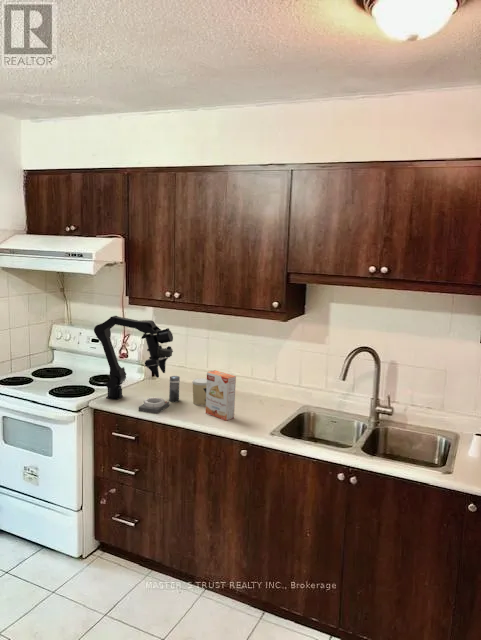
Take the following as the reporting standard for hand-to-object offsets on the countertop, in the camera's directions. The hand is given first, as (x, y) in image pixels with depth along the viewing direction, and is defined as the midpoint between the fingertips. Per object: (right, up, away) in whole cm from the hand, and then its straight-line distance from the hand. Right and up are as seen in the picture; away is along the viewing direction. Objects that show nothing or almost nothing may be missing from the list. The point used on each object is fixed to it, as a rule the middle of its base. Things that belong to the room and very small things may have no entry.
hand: (161, 375), depth 261 cm
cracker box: (+30, -18, -13) cm, 38 cm away
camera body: (-2, -16, -7) cm, 17 cm away
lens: (+6, -14, +6) cm, 16 cm away
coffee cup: (+20, -15, +4) cm, 25 cm away
